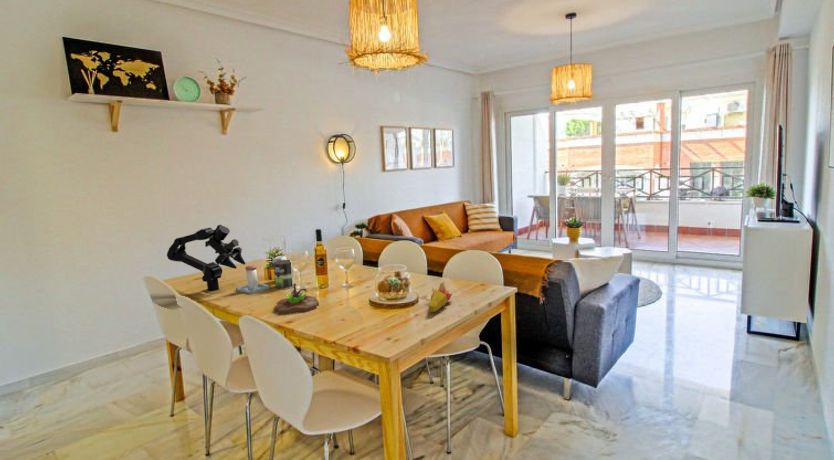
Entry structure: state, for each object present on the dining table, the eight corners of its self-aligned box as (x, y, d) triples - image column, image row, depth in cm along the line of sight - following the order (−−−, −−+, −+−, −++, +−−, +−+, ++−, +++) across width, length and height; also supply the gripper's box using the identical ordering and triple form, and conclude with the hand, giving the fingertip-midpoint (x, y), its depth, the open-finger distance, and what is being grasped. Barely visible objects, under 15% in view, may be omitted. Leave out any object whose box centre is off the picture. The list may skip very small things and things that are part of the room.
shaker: (246, 290, 246) (243, 267, 244) (251, 287, 251) (248, 265, 249) (255, 290, 245) (253, 267, 243) (260, 287, 250) (258, 265, 248)
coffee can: (287, 290, 245) (284, 264, 243) (271, 289, 249) (268, 263, 247) (298, 285, 255) (296, 260, 253) (283, 284, 259) (281, 259, 256)
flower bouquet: (430, 323, 196) (442, 298, 219) (445, 316, 193) (456, 291, 217) (419, 307, 195) (432, 284, 218) (435, 300, 192) (446, 277, 216)
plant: (318, 298, 229) (316, 276, 227) (319, 311, 210) (317, 287, 208) (276, 303, 224) (274, 281, 223) (273, 316, 206) (270, 292, 204)
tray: (236, 291, 248) (235, 287, 247) (255, 286, 257) (255, 282, 257) (251, 295, 239) (250, 291, 239) (271, 289, 248) (270, 285, 248)
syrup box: (284, 283, 260) (282, 258, 258) (274, 283, 261) (272, 258, 259) (289, 280, 265) (286, 255, 263) (279, 280, 267) (277, 256, 264)
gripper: (217, 238, 236) (240, 259, 236) (236, 232, 254) (257, 251, 254) (205, 254, 238) (227, 274, 238) (224, 247, 256) (245, 266, 257)
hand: (240, 266), depth 247 cm, fingers open, 9 cm apart
